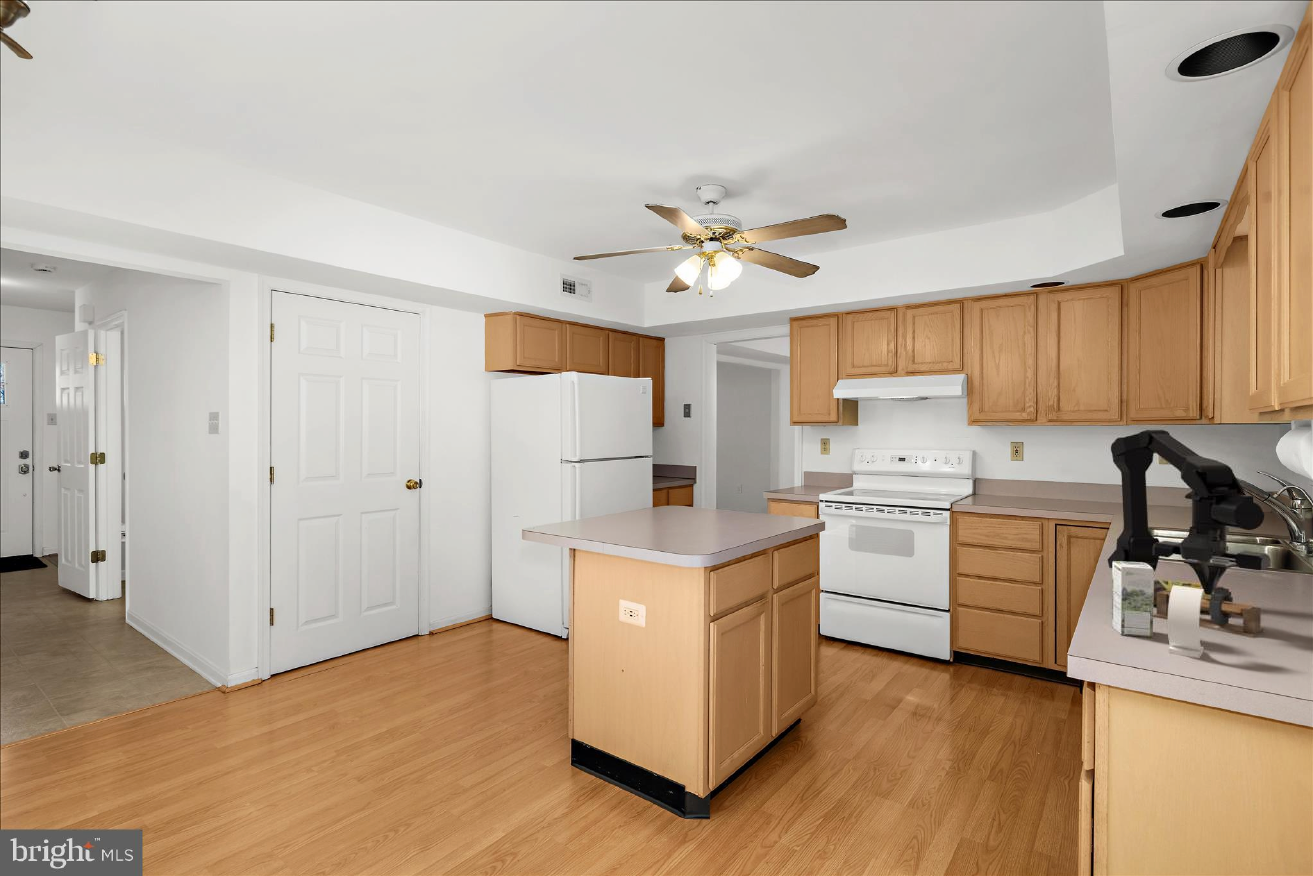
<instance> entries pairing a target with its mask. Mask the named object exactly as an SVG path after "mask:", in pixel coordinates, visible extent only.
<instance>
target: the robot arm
mask: <svg viewBox="0 0 1313 876" xmlns="http://www.w3.org/2000/svg"><path fill="white" fill-rule="evenodd" d="M1110 452H1111V456H1112V462H1113V464H1114V465H1115V466H1116V468H1117V469H1118V470H1119V472H1120V474H1121V475H1120V476H1121V490H1122V491H1121V492H1122V493H1121V495H1122V496H1121V497H1122V513H1123V515H1122V518H1123V530H1122V532H1121V533H1120V534H1119V536H1118V537H1117V539H1116V548H1115V550H1114V551H1113V552H1112V553H1111V554H1110V556H1109V558H1107V563H1108V568H1110V569H1112V563H1113V561H1120V562H1143V563H1146V564H1148V565H1149V566H1151V567H1152V568H1153V569H1154V572H1156V570H1157V567H1158V564H1159V559H1160V557H1164V558H1170V557H1172V556H1173V555H1178V556H1179V555H1180V556H1181V558H1182V559H1183V564H1185V565H1188V566H1189V567H1191V568H1192V569H1193V571H1194V572H1195V574H1196V576H1197V578H1198V581H1199V583H1201V585H1202V588H1203V589H1204V592H1205V594H1206V595H1211V594H1212V593H1213V591H1214V589H1215V587H1216V586H1218V584H1219V581H1220V580H1221V579H1222V577H1223V576H1224V573H1226V571H1227V569H1230V568H1234V567H1236V565H1237V566H1238V567H1239V568H1240V569H1244V570H1245V569H1246V570H1252V571H1264V570H1266V569H1269V568H1271V566H1272V565H1271V563H1272V561H1271V557H1270V556H1269V555H1268V554H1267V553H1266V552H1265V553H1264V552H1257V551H1248V550H1244V551H1241V552H1237V553H1234V552H1229V546H1228V545H1227V539H1228V538H1227V534H1228V533H1229V532H1230V531H1229V527H1231V528H1236V529H1241V530H1245V531H1246V530H1247V531H1253V530H1255V529H1257V528H1259V527H1260V526H1261V525H1262V524H1263V522H1264V521H1265V520H1264V519H1265V512H1264V511H1263V508H1262V507H1261V506H1260V505H1259V503H1256V502H1255V501H1254V496H1253V495H1247V494H1246V492H1245V491H1244V488H1243V487H1242V485H1241V484H1240V482H1239V480H1238V479H1237V477H1236V475H1235V474H1234V471H1233V469H1232V467H1230V466H1229V465H1228V464H1225V462H1221V461H1218V460H1216V459H1212V458H1207V457H1204V456H1202V455H1199V454H1198V453H1196V452H1195V451H1193V450H1192V449H1191V448H1189V447H1188V446H1186V445H1185V444H1183V443H1182V442H1181V441H1179V440H1177V439H1176V438H1174V437H1173V436H1172V435H1170V432H1169V431H1167V430H1165V429H1145V430H1143V431H1139V432H1138V433H1135V434H1131V435H1127V436H1123V437H1117V438H1116V439H1115V440H1114V441H1113V442H1112V443H1111V445H1110ZM1155 454H1156V455H1158V456H1160V458H1162V459H1163V460H1165V461H1166V462H1168V463H1169V464H1170V465H1172V466H1173V467H1174V468H1175V469H1177V470H1178V471H1179V472H1180V479H1181V480H1182V481H1183V482H1184V483H1185V485H1187V487H1188V488H1189V489H1190V490H1191V491H1190V492H1188V493H1186V494H1185V495H1184V498H1185V499H1186V500H1191V526H1189V530H1188V535H1187V536H1186V537H1185V538H1184V539H1182V541H1180V542H1178V541H1169V540H1163V541H1160V540H1159V538H1157V537H1154V536H1153V534H1152V533H1151V532H1150V530H1149V516H1148V513H1149V512H1148V495H1147V494H1148V493H1147V473H1146V472H1148V470H1149V469H1150V467H1151V465H1152V464H1153V462H1154V455H1155Z"/></svg>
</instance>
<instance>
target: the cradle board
mask: <svg viewBox="0 0 1313 876" xmlns="http://www.w3.org/2000/svg"><path fill="white" fill-rule="evenodd" d="M1163 592H1164V591H1160V592H1157V606H1156V613H1153V618H1157V619H1158V618H1159V619H1163V620H1168V606H1169V602H1168V600H1167V594H1165V593H1163ZM1261 619H1262V618H1261V607H1257V606H1256V607H1255V606H1253V608H1251V609H1246V608H1244V609H1243V616H1242V621H1243V622H1242V625H1241V624H1235V623H1230V622H1229V623H1227V624H1224V625H1220V624H1215V623H1213V621H1212V620H1211V618H1210V619H1209V618H1205V617H1201V616H1200V618H1199V627H1201V628H1205V629H1206V628H1207V629H1210V630H1215V631H1220V632H1225V633H1228V634H1229V633H1230V634H1235V635H1239V636H1244V637H1249V638H1254V637H1256V636H1259V635H1261V634H1262V633H1264V629H1261V628H1262V627H1261V623H1262V622H1261Z"/></svg>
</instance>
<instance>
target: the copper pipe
mask: <svg viewBox="0 0 1313 876" xmlns="http://www.w3.org/2000/svg"><path fill="white" fill-rule="evenodd" d="M1163 593H1165V594H1167V600H1168V602H1169V598H1170V593H1171V591H1167V590H1165V591H1164V592H1163ZM1210 600H1211V598H1206V597H1202V600H1201V607H1200V608H1204V609H1209V601H1210ZM1253 607H1254V606H1253V605H1249V604H1244V603H1237V602H1234V601H1233V602H1228V601H1225V600H1223V601H1222V602H1221V612H1222V613H1224V612H1225V613H1230V614H1231V615H1237V616H1241V617H1243V609H1244V608H1246V609H1251V608H1253Z"/></svg>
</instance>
